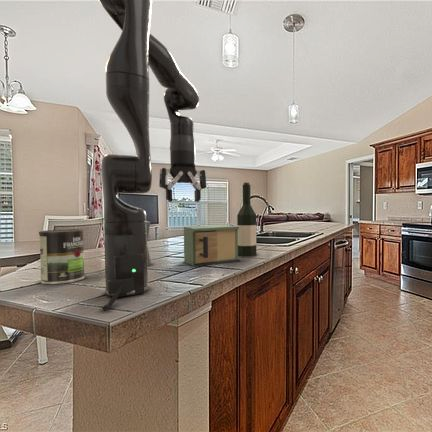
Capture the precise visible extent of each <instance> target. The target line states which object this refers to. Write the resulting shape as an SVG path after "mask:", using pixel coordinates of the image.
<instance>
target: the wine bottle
mask: <svg viewBox="0 0 432 432" xmlns="http://www.w3.org/2000/svg"><path fill="white" fill-rule="evenodd" d="M251 195H252V194H251V184H250V182H243V184H242V205H241V207H240V209H239V211H238V213H237V215H236V217H237V218H236V221H237V223H236V224H237V225H236V226H239V229H238V257H254V256H257V214H256V212H255V210H254V208H253V206H252V205H251V203H252V202H251V201H252V199H251V197H252V196H251Z"/></svg>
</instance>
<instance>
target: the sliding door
mask: <svg viewBox="0 0 432 432" xmlns="http://www.w3.org/2000/svg"><path fill="white" fill-rule="evenodd" d="M213 261H217V231H213V232H196V233H195V263H205V262H213Z"/></svg>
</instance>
